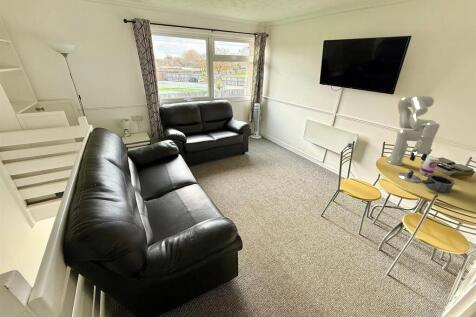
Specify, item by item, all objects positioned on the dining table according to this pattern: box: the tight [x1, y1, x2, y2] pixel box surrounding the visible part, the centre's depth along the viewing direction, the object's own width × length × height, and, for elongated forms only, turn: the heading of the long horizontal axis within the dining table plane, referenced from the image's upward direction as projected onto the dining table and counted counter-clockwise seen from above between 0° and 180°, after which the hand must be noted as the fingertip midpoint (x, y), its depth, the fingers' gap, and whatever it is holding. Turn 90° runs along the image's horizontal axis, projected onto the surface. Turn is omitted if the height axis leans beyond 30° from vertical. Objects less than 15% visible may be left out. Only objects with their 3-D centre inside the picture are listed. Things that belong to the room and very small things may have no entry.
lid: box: [397, 170, 422, 184], centre depth 165 cm, size 15×15×6 cm
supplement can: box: [419, 155, 440, 177], centre depth 168 cm, size 8×8×15 cm
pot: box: [421, 174, 455, 194], centre depth 152 cm, size 14×23×7 cm, turn 97°
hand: (417, 160), depth 158 cm, fingers open, 9 cm apart
